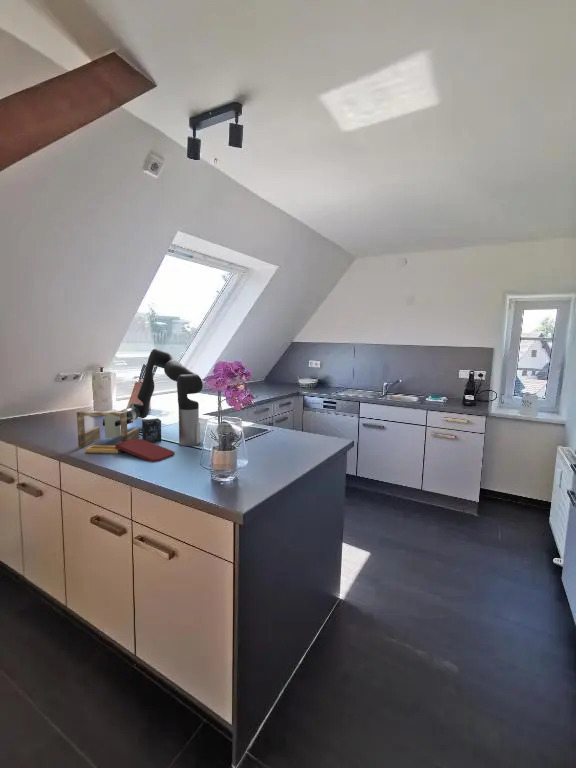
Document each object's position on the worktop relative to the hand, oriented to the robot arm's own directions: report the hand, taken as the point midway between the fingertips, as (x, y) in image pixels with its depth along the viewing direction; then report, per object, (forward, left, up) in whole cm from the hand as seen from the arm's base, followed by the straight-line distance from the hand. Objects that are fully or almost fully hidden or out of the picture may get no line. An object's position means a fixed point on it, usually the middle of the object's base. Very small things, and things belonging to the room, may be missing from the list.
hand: (109, 424), depth 174 cm
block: (0, -3, -6) cm, 7 cm away
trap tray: (-3, +12, -9) cm, 16 cm away
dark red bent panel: (-21, +14, -10) cm, 28 cm away
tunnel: (0, 0, -9) cm, 9 cm away
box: (-17, -6, -10) cm, 21 cm away
